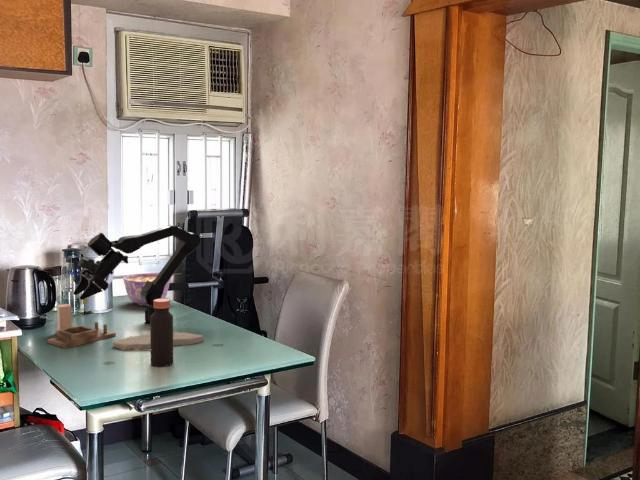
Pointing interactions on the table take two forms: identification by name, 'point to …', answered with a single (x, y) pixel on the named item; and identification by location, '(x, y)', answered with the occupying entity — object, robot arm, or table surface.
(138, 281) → the bowl of food
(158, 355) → the bottle
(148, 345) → the stone tablet
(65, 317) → the clay bar
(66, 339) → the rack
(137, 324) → the table surface
